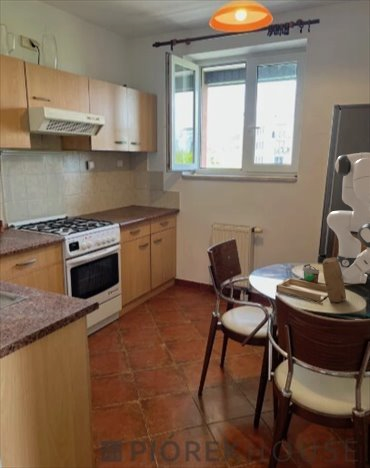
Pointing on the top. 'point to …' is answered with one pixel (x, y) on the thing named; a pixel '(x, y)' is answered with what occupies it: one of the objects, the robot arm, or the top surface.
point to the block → (333, 280)
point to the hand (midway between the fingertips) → (342, 277)
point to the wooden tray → (303, 289)
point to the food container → (310, 274)
